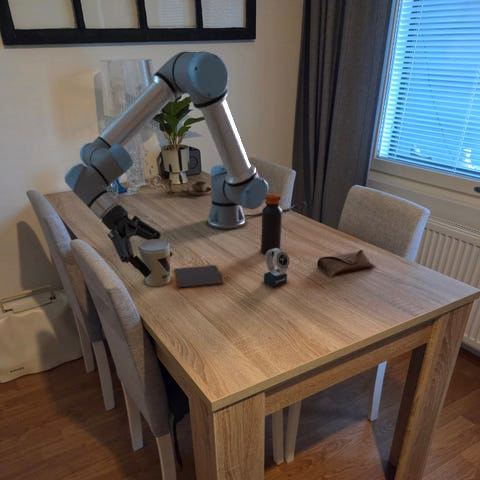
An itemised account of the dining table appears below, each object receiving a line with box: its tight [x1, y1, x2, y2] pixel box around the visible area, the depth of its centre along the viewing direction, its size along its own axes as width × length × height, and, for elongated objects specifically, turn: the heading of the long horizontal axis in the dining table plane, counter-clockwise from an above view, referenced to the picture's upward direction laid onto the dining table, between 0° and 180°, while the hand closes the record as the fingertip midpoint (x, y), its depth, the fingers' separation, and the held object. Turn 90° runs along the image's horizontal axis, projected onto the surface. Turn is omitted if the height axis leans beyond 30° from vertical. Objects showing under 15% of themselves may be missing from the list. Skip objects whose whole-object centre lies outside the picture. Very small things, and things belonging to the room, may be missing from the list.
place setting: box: [167, 179, 211, 199], centre depth 219 cm, size 18×20×6 cm
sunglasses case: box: [316, 249, 375, 277], centre depth 146 cm, size 18×7×7 cm, turn 115°
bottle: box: [260, 193, 283, 256], centre depth 153 cm, size 7×7×20 cm
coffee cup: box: [137, 238, 171, 287], centre depth 135 cm, size 9×9×12 cm
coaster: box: [175, 264, 222, 289], centre depth 140 cm, size 13×13×1 cm
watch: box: [263, 248, 290, 289], centre depth 134 cm, size 6×8×11 cm
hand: (160, 265), depth 135 cm, fingers open, 13 cm apart
